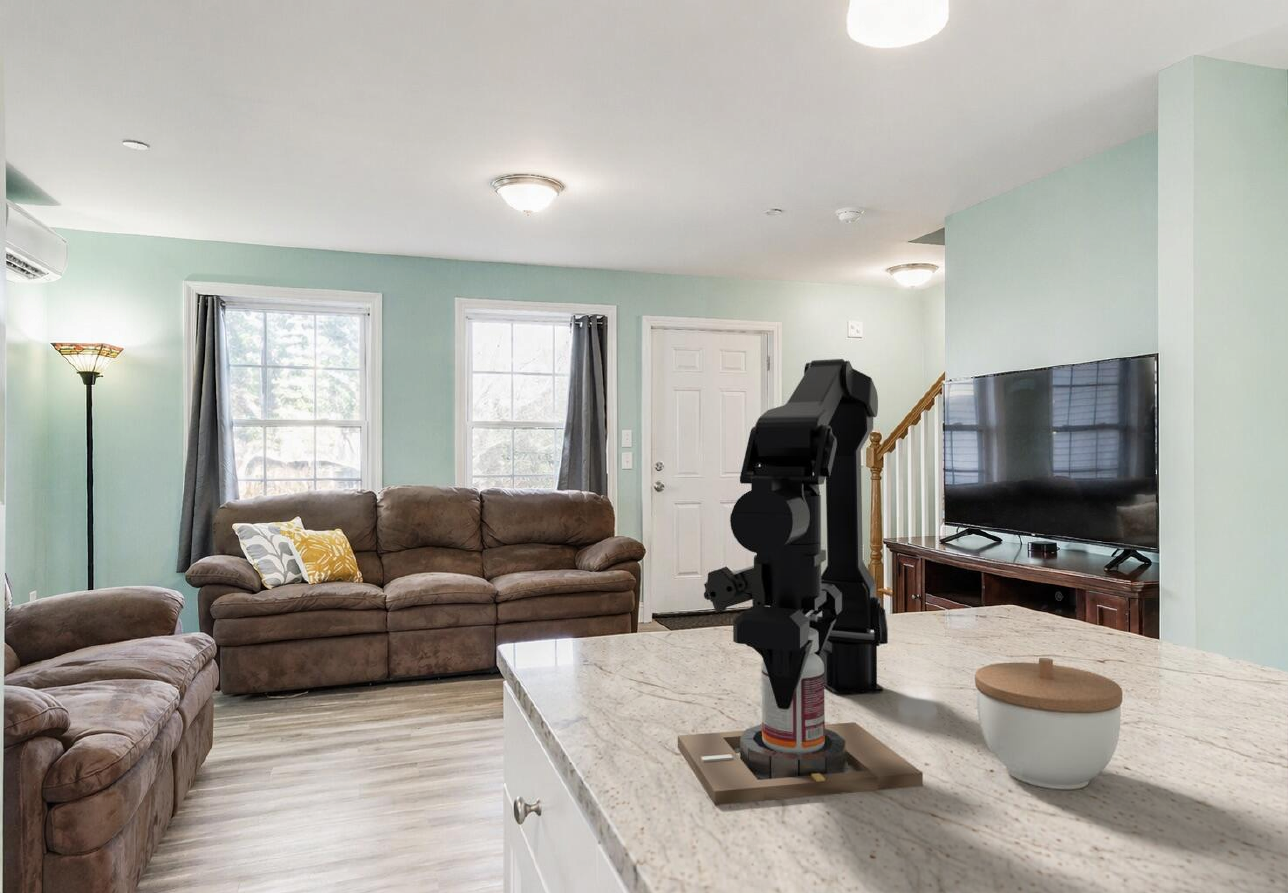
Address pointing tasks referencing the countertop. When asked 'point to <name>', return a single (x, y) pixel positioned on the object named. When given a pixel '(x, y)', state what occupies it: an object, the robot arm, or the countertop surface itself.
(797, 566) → the robot arm
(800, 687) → the pill bottle
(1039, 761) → the lidded bowl
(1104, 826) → the countertop surface
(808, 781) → the socket board
